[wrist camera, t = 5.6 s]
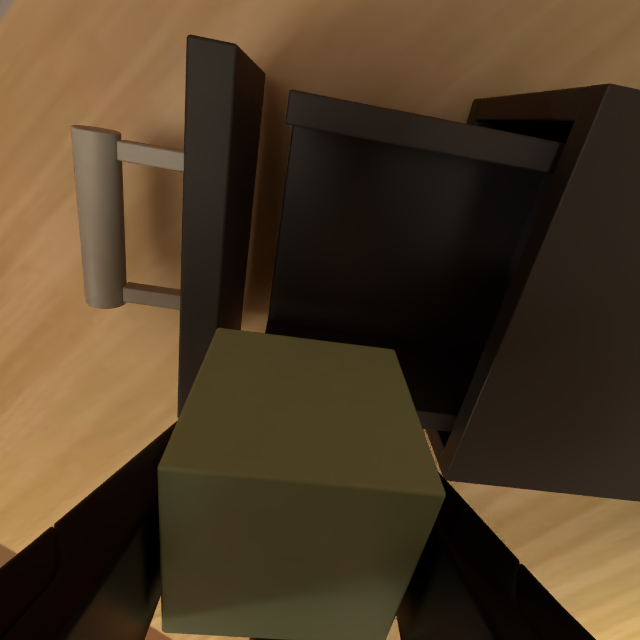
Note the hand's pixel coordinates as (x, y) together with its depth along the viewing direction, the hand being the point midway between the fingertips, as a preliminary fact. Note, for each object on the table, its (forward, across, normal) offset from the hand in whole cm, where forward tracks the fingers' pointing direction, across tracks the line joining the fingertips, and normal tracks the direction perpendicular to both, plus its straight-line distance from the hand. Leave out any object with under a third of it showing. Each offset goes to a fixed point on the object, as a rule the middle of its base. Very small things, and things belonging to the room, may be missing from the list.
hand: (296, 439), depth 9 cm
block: (+1, 0, 0) cm, 1 cm away
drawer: (+11, -1, -2) cm, 11 cm away
